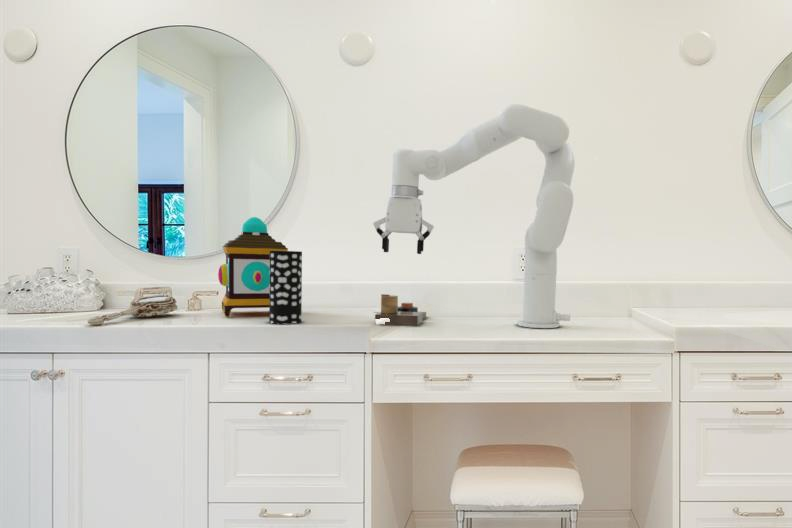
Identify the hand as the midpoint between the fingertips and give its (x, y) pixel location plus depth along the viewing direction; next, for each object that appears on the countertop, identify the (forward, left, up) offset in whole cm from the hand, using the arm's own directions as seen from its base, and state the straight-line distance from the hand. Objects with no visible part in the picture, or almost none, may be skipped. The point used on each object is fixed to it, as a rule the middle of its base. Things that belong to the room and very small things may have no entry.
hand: (402, 253), depth 160 cm
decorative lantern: (+47, -11, -21) cm, 53 cm away
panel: (0, +1, -21) cm, 21 cm away
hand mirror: (+71, +9, -21) cm, 75 cm away
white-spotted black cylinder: (+31, +6, -21) cm, 38 cm away
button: (0, -12, -18) cm, 21 cm away
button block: (0, -12, -21) cm, 24 cm away
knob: (+3, +1, -17) cm, 18 cm away
